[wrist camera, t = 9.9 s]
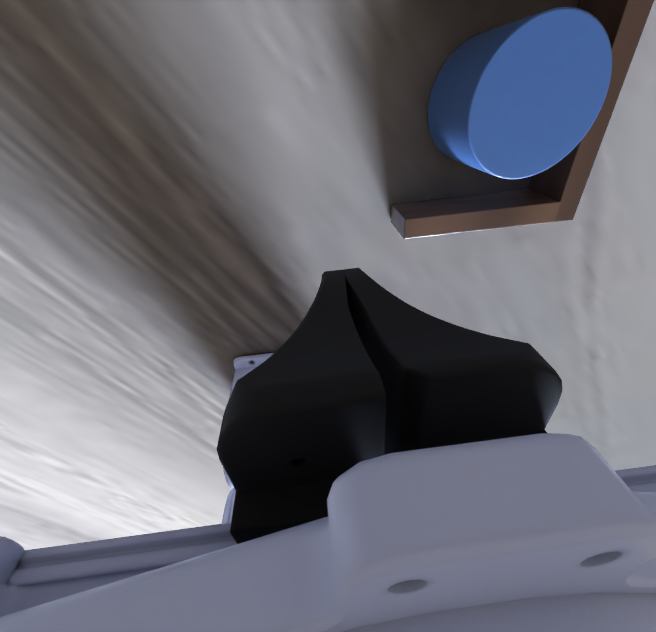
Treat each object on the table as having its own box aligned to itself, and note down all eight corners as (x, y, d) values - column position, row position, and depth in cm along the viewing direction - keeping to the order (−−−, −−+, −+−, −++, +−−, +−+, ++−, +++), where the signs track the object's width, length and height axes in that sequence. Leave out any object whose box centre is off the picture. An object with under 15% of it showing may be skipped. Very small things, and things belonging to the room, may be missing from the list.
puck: (422, 166, 19) (457, 185, 15) (433, 35, 16) (483, 13, 11) (518, 156, 19) (579, 172, 15) (551, 24, 16) (641, -1, 12)
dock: (390, 222, 21) (403, 239, 18) (400, -57, 14) (423, -91, 11) (540, 205, 21) (573, 219, 19) (626, -78, 14) (697, -115, 12)
